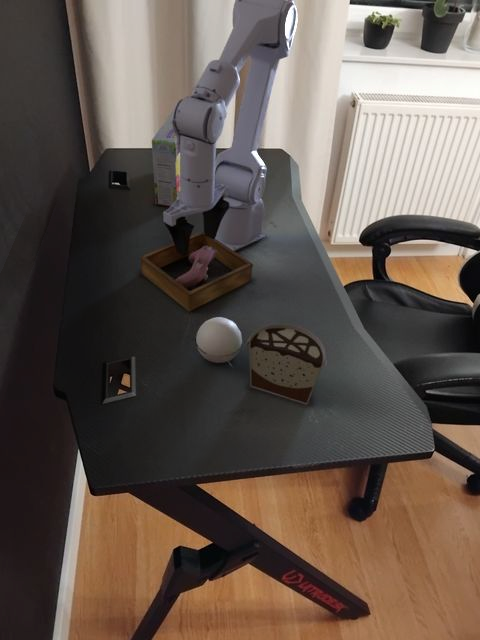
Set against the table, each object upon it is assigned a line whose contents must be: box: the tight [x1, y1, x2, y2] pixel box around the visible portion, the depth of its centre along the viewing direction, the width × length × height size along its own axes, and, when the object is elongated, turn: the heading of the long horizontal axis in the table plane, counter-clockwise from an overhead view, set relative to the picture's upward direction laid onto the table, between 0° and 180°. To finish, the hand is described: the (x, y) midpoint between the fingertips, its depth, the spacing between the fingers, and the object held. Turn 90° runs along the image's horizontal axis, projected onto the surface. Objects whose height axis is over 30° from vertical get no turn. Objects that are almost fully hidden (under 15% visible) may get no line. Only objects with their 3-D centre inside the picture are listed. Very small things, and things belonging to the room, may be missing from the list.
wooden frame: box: [139, 230, 254, 312], centre depth 107 cm, size 15×14×4 cm
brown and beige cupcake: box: [244, 323, 328, 406], centre depth 86 cm, size 12×6×10 cm, turn 71°
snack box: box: [151, 107, 180, 208], centre depth 128 cm, size 21×6×15 cm, turn 172°
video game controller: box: [175, 245, 217, 289], centre depth 106 cm, size 10×5×7 cm, turn 169°
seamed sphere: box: [194, 316, 243, 367], centre depth 89 cm, size 10×7×7 cm
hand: (196, 244), depth 103 cm, fingers open, 7 cm apart
